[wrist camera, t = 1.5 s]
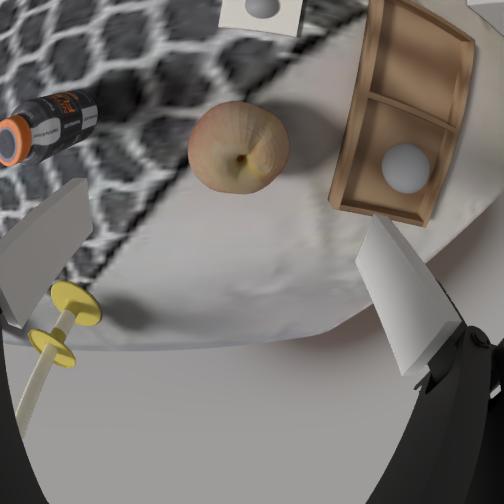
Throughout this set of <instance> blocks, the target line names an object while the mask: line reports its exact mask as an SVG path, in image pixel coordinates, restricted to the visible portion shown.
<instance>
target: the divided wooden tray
mask: <svg viewBox="0 0 504 504" xmlns="http://www.w3.org/2000/svg"><path fill="white" fill-rule="evenodd" d="M474 49H475V39H473V38H472V37H470V36H469V35H468V34H466V33H465V32H463V31H462V30H460V29H459V28H457V27H456V26H454V25H453V24H451V23H450V22H448V21H447V20H445V19H443V18H442V17H440V16H438V15H437V14H435V13H433V12H432V11H430V10H428V9H426V8H424V7H423V6H421V5H419V4H417V3H415V2H413V1H411V0H369V6H368V13H367V20H366V27H365V33H364V39H363V45H362V51H361V57H360V62H359V67H358V73H357V78H356V83H355V88H354V93H353V97H352V102H351V107H350V111H349V116H348V120H347V125H346V129H345V133H344V137H343V142H342V146H341V150H340V154H339V158H338V162H337V166H336V170H335V173H334V177H333V181H332V185H331V188H330V192H329V196H328V201H329V203H330V204H331V206H332V208H333V209H336V210H342V211H347V212H353V213H358V214H363V215H368V216H373V214H374V213H375V214H379V215H384V216H388V217H389V219H390V220H393V221H398V222H403V223H407V224H412V225H416V226H421V227H425V228H426V226H427V224H428V222H429V219H430V217H431V214H432V212H433V209H434V207H435V204H436V202H437V199H438V197H439V194H440V191H441V188H442V186H443V183H444V180H445V177H446V174H447V171H448V168H449V165H450V162H451V159H452V156H453V152H454V149H455V146H456V142H457V138H458V135H459V131H460V127H461V123H462V119H463V115H464V110H465V106H466V101H467V96H468V91H469V85H470V79H471V73H472V66H473V58H474ZM400 143H408V144H412V145H414V146H416V147H418V148H419V149H420V150H421V151H422V152H423V153H424V154H425V156H426V158H427V160H428V163H429V168H430V173H429V178H428V181H427V183H426V184H425V186H424V187H423V188H422V189H420V190H419V191H417V192H414V193H409V194H407V193H401V192H398V191H396V190H395V189H393V188H392V187H391V186H390V185H389V184H388V183H387V182H386V180H385V178H384V176H383V172H382V160H383V157H384V155H385V153H386V152H387V150H388V149H389V148H391V147H392V146H394V145H396V144H400Z"/></svg>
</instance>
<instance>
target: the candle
mask: <svg viewBox="0 0 504 504" xmlns="http://www.w3.org/2000/svg"><path fill="white" fill-rule="evenodd" d="M51 297H52V299H53V302H54V304H55V306H56V307H57V308H58V309H59V311H60V312H61V313H62V314H61V315H60V317H59V319H58V321H57V322H56V324H55V326H54V328H53V330H52V331H51V333H50V334H49V333H47V332H46V331H43V330H39V329H31V330H30V332H29V334H28V337H29V341H30V342H31V344H32V345H33V347H34V348H35V349H36V350H37V351H38V352H39V353H40V354H41V356H40V358H39V360H38V362H37V364H36V366H35V368H34V370H33V373H32V375H31V377H30V379H29V381H28V384H27V386H26V389H25V391H24V393H23V396H22V399H21V401H20V403H19V406H18V408H17V411H16V414H15V417H16V421H17V424H18V428H19V432H20V435H21V438H22V439H23V438H24V436H25V433H26V430H27V427H28V424H29V421H30V418H31V415H32V413H33V410H34V407H35V404H36V402H37V399H38V396H39V394H40V392H41V389H42V386H43V384H44V382H45V379H46V377H47V375H48V372H49V370H50V368H51V366H52V364H53V363H55V364H57V365H59V366H62V367H66V368H67V367H68V368H72V367H73V366H75V363H76V362H75V357H74V355H73V353H72V351H71V350H70V349H69V348H68V347H67V346H66V345H65V344H64V341H65V339H66V337H67V335H68V333H69V331H70V329H71V327H72V325H73V323H74V322H75V323H77V324H80V325H84V326H93V325H96V324H97V323H98V322H99V321H100V319H101V311H100V308H99V305H98V303H97V302H96V301H95V299H94V298H93V297H92V295H90V294H89V293H88V292H87V291H86V290H84V289H83V288H82V287H80V286H78V285H76V284H74V283H72V282H68V281H59V282H55V284H54V285H53V287H52V288H51Z"/></svg>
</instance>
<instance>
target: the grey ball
mask: <svg viewBox="0 0 504 504" xmlns="http://www.w3.org/2000/svg"><path fill="white" fill-rule="evenodd" d="M382 172H383V176H384V178H385V180H386V182H387V183H388V184H389V185H390V186H391V187H392V188H393V189H395V190H396V191H398V192H401V193H407V194H409V193H414V192H417V191H419V190H420V189H422V188H423V187H424V186H425V184H426V183H427V181H428V178H429V173H430V168H429V163H428V160H427V158H426V156H425V154H424V153H423V152H422V151H421V150H420V149H419V148H418V147H416V146H414V145H412V144H408V143H400V144H396V145H394V146H392V147H391V148H389V149H388V150H387V152H386V153H385V155H384V157H383V160H382Z"/></svg>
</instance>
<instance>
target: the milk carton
mask: <svg viewBox="0 0 504 504" xmlns="http://www.w3.org/2000/svg"><path fill="white" fill-rule="evenodd" d="M467 5H468V6H469V7H470V8H471V9H473V10H474V11H475V12H476V13H478V14H479V15H480V16H481V17H482V18H484V19H485V20H486V21H487V22H488V23H489V24H491V25H492V26H493V27H494V28H495V29H496V30H497V31H498V32H499V33H500V34H502V35H503V36H504V0H467Z"/></svg>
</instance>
